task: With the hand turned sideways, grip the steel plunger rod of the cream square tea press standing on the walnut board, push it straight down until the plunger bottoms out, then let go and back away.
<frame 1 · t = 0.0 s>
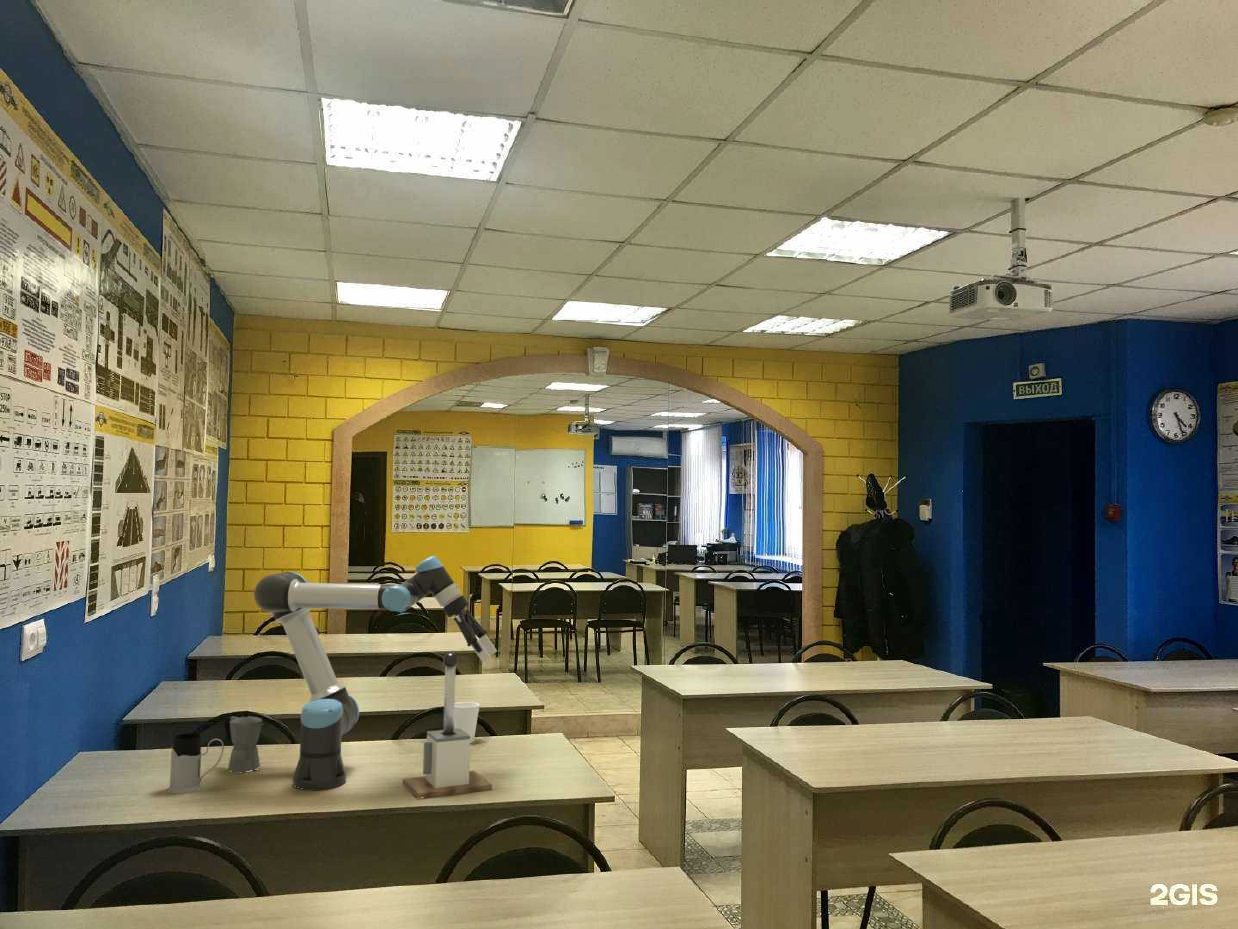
hand: (490, 657, 288), 36 cm above the table, tool tilted 35°, fingers open, 13 cm apart
foam cup: (464, 742, 325), on the table
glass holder: (195, 789, 265), on the table
plunger: (449, 697, 273), point 26 cm above the table, slide at 10.0 cm
board: (446, 786, 272), on the table
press: (444, 758, 271), on the board, point 8 cm above the table
coffeepot: (241, 769, 286), on the table
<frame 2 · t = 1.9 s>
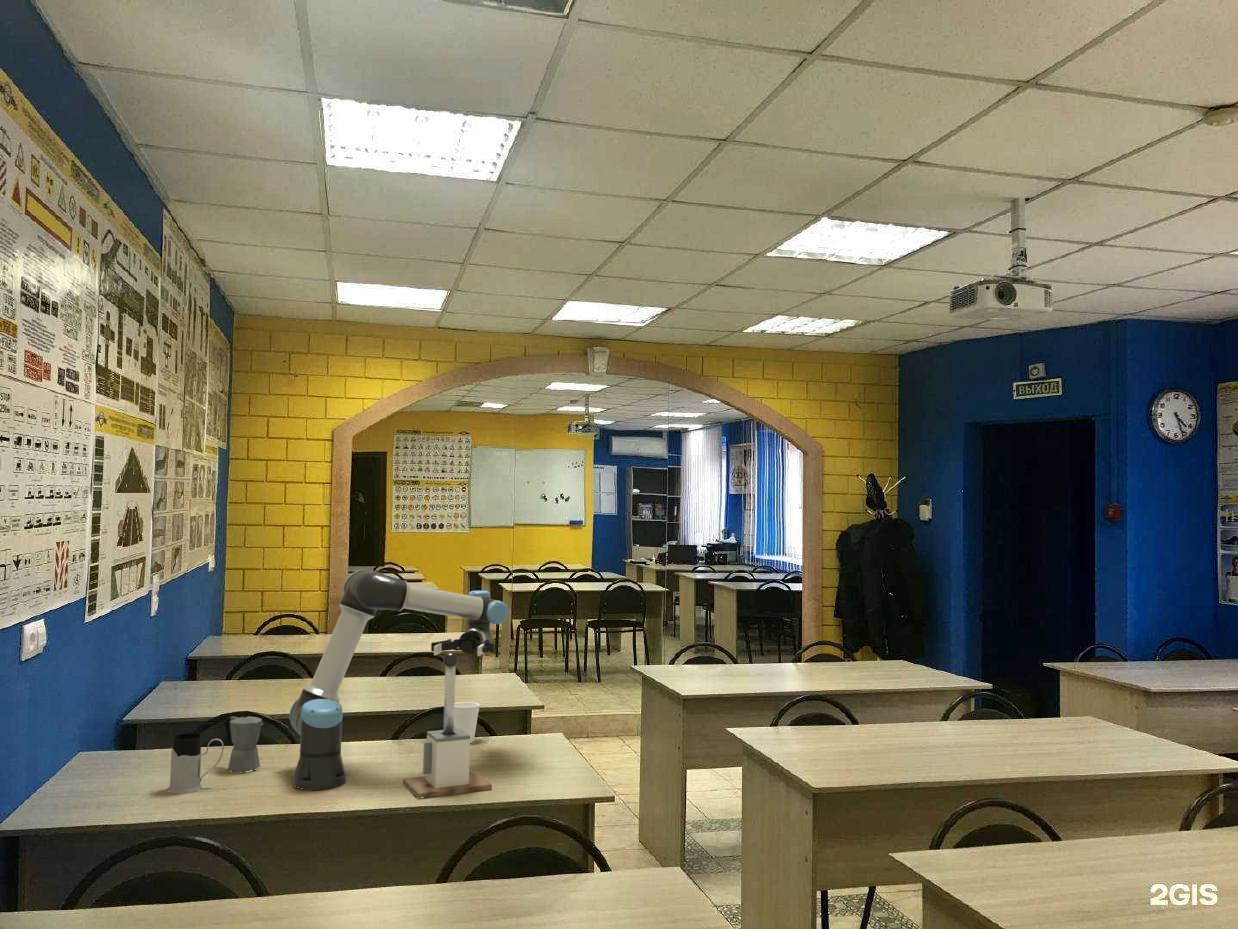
hand: (456, 651, 283), 38 cm above the table, tool horizontal, fingers open, 13 cm apart
nothing on the table moved.
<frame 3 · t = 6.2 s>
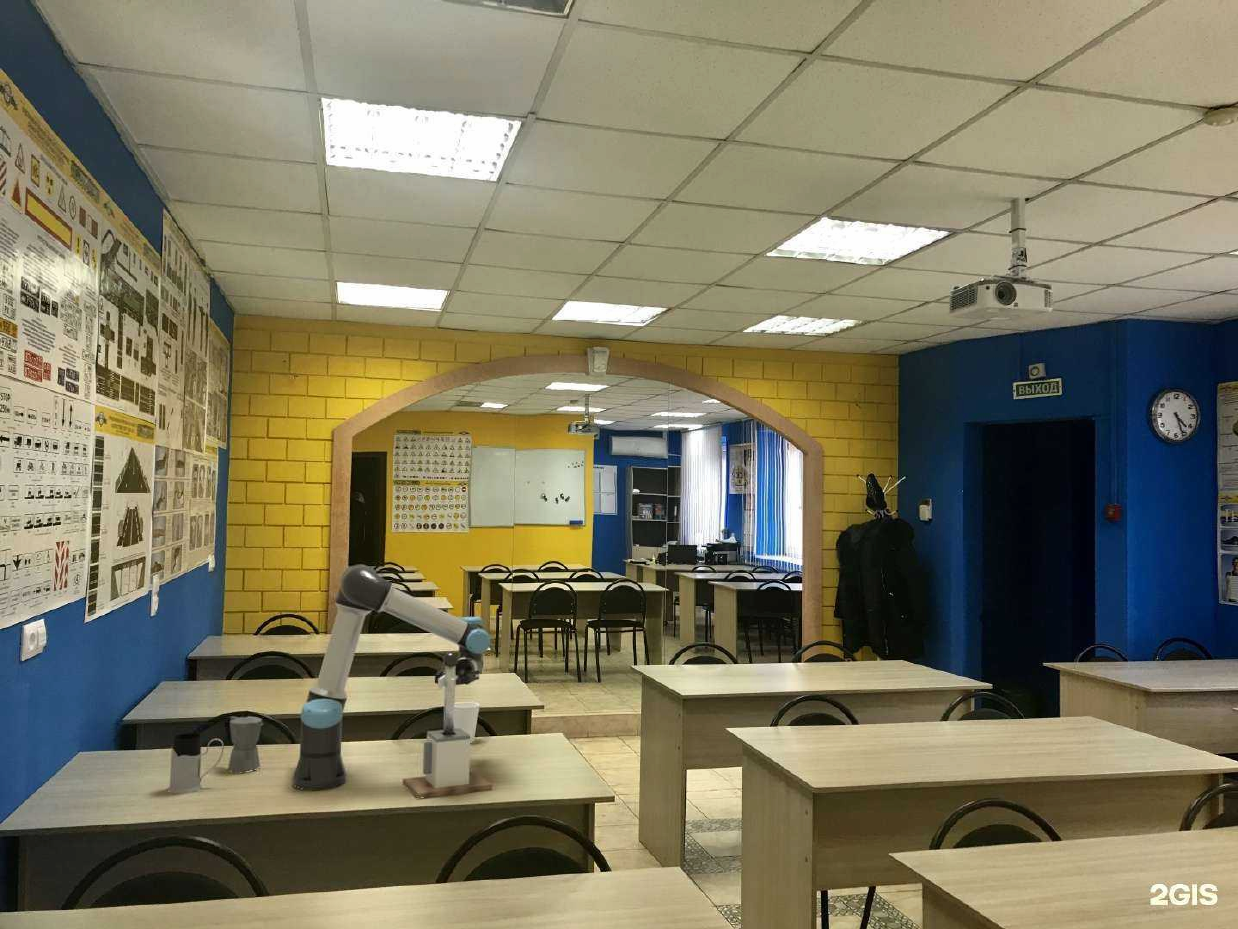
hand: (445, 684, 268), 31 cm above the table, tool horizontal, fingers closed on plunger, 3 cm apart
plunger: (449, 697, 273), point 26 cm above the table, slide at 10.1 cm, touching gripper
everything else where it was.
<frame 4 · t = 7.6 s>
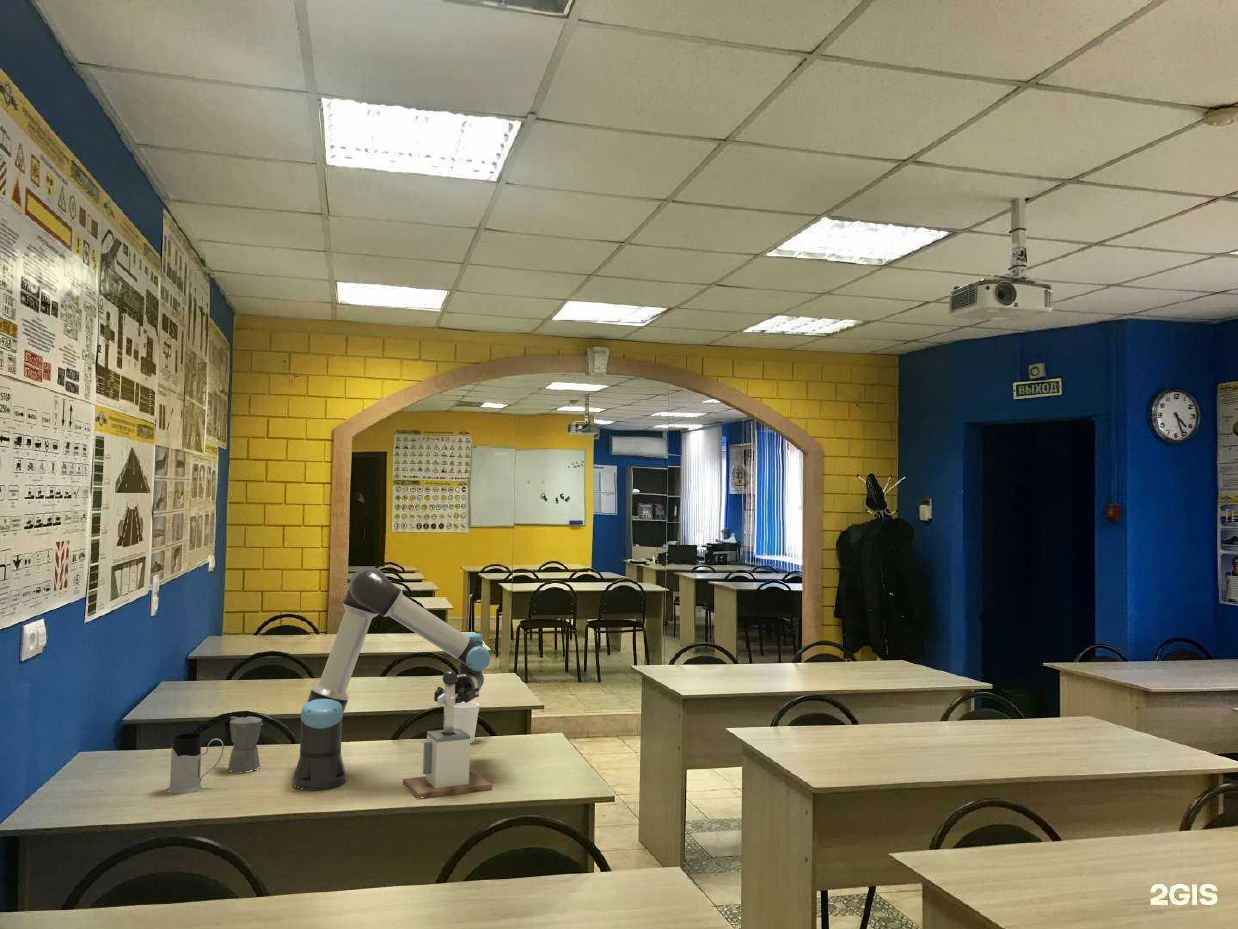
hand: (445, 702, 268), 26 cm above the table, tool horizontal, fingers closed on plunger, 3 cm apart
plunger: (449, 715, 273), point 21 cm above the table, slide at 4.7 cm, touching gripper
everything else where it was.
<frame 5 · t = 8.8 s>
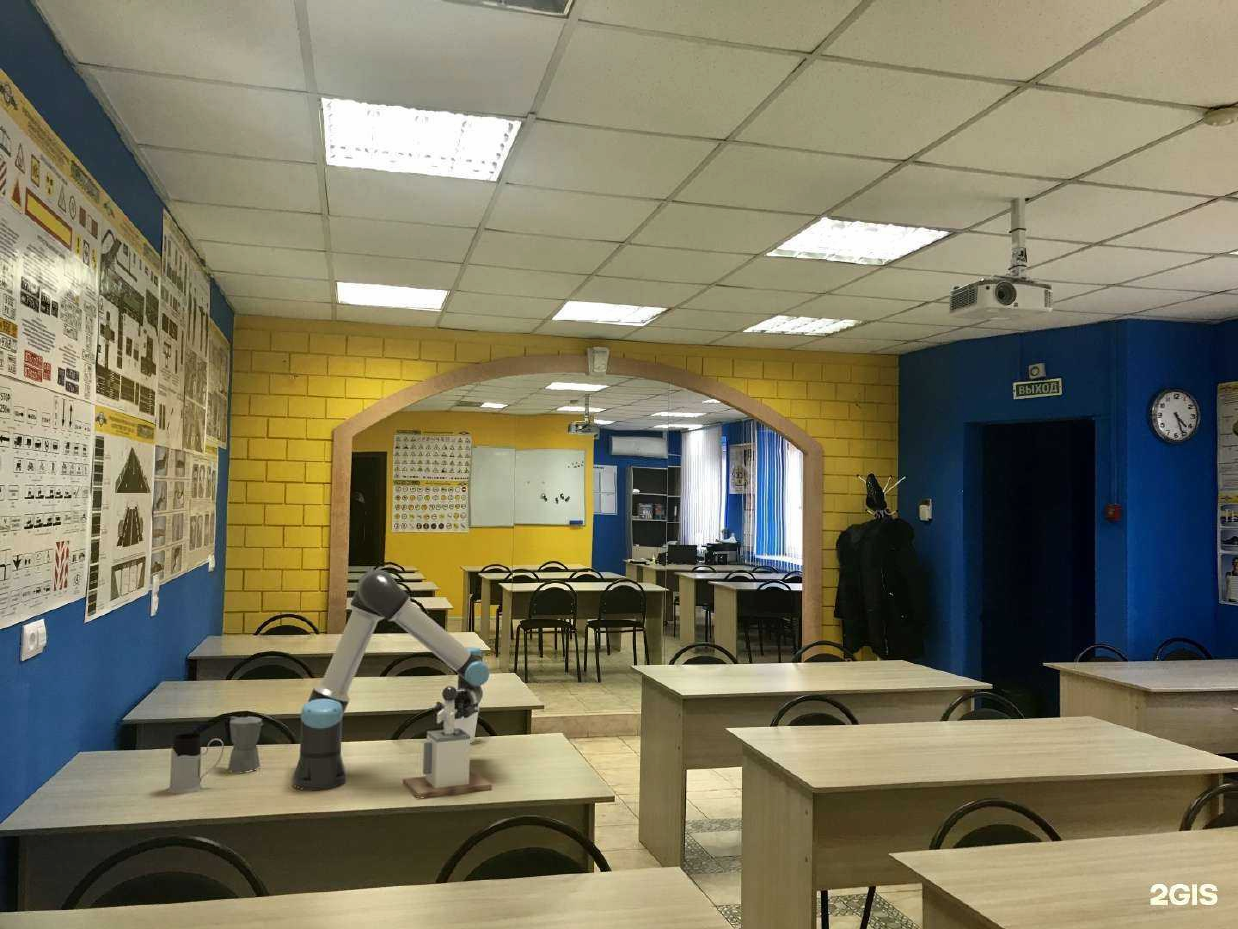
hand: (444, 718, 267), 21 cm above the table, tool horizontal, fingers closed on plunger, 3 cm apart
plunger: (448, 731, 272), point 16 cm above the table, slide at 0.1 cm, touching gripper
everything else where it was.
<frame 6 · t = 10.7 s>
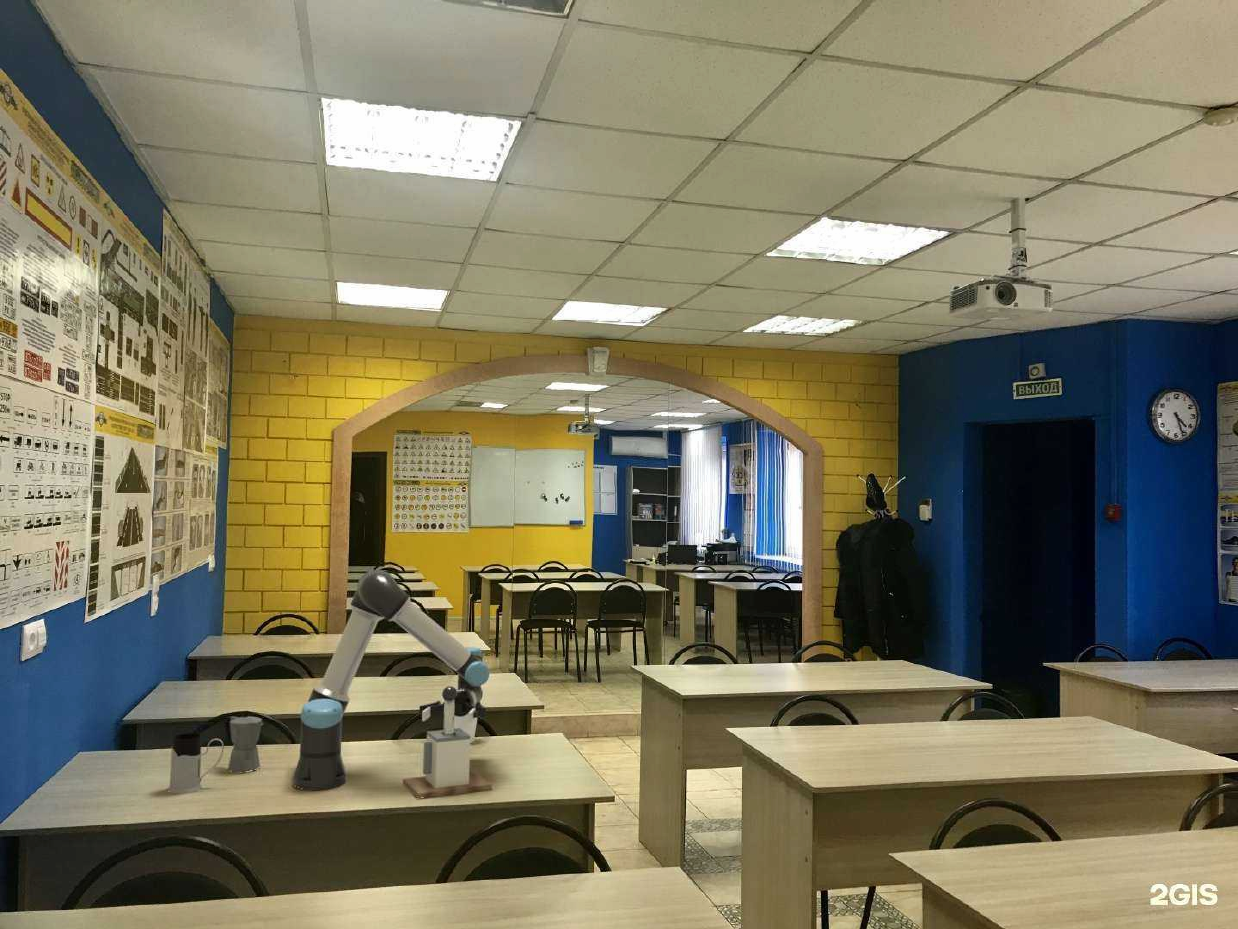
hand: (446, 717, 269), 21 cm above the table, tool horizontal, fingers open, 13 cm apart
plunger: (448, 731, 272), point 16 cm above the table, slide at 0.1 cm
everything else where it was.
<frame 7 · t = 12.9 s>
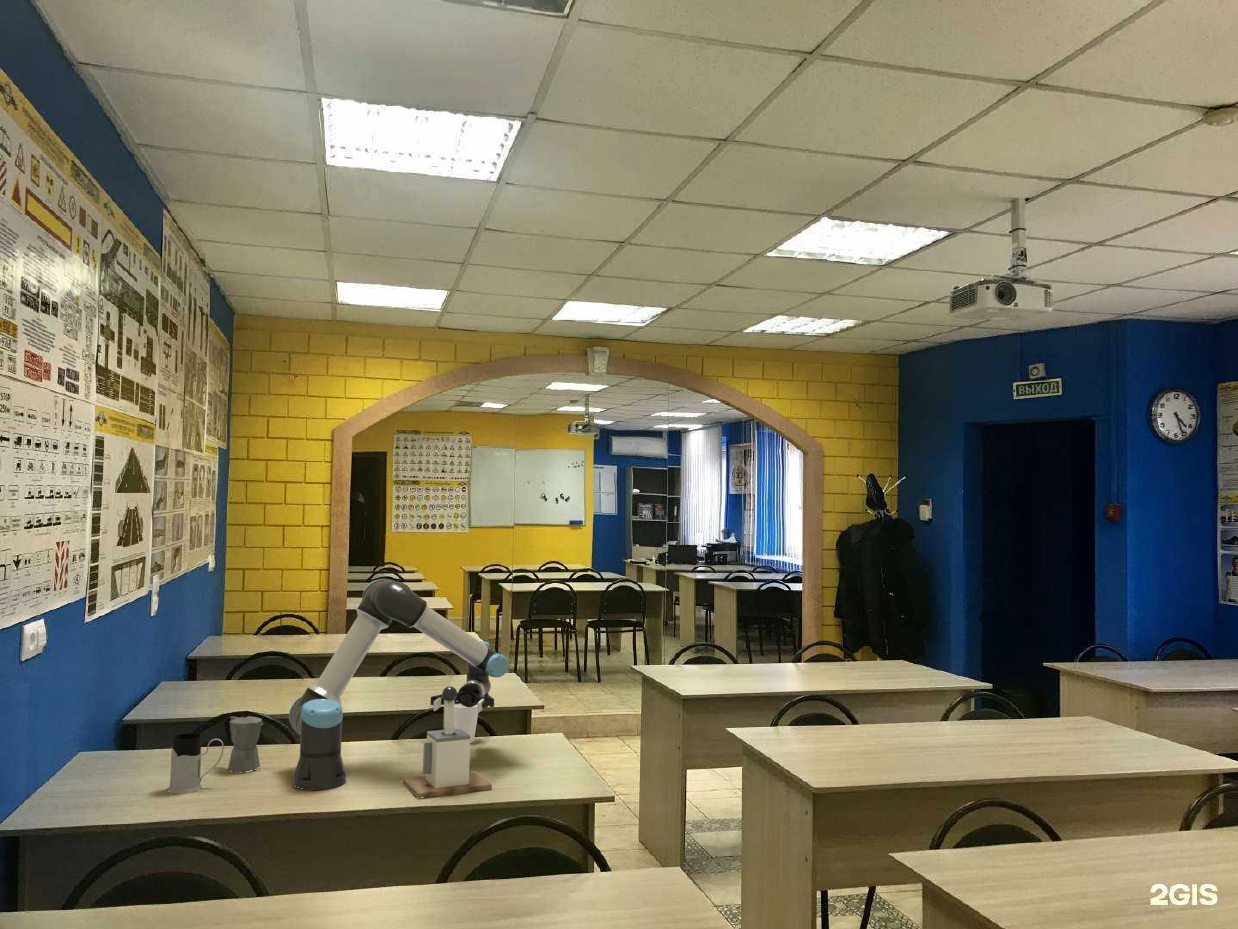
hand: (456, 707, 282), 21 cm above the table, tool horizontal, fingers open, 13 cm apart
nothing on the table moved.
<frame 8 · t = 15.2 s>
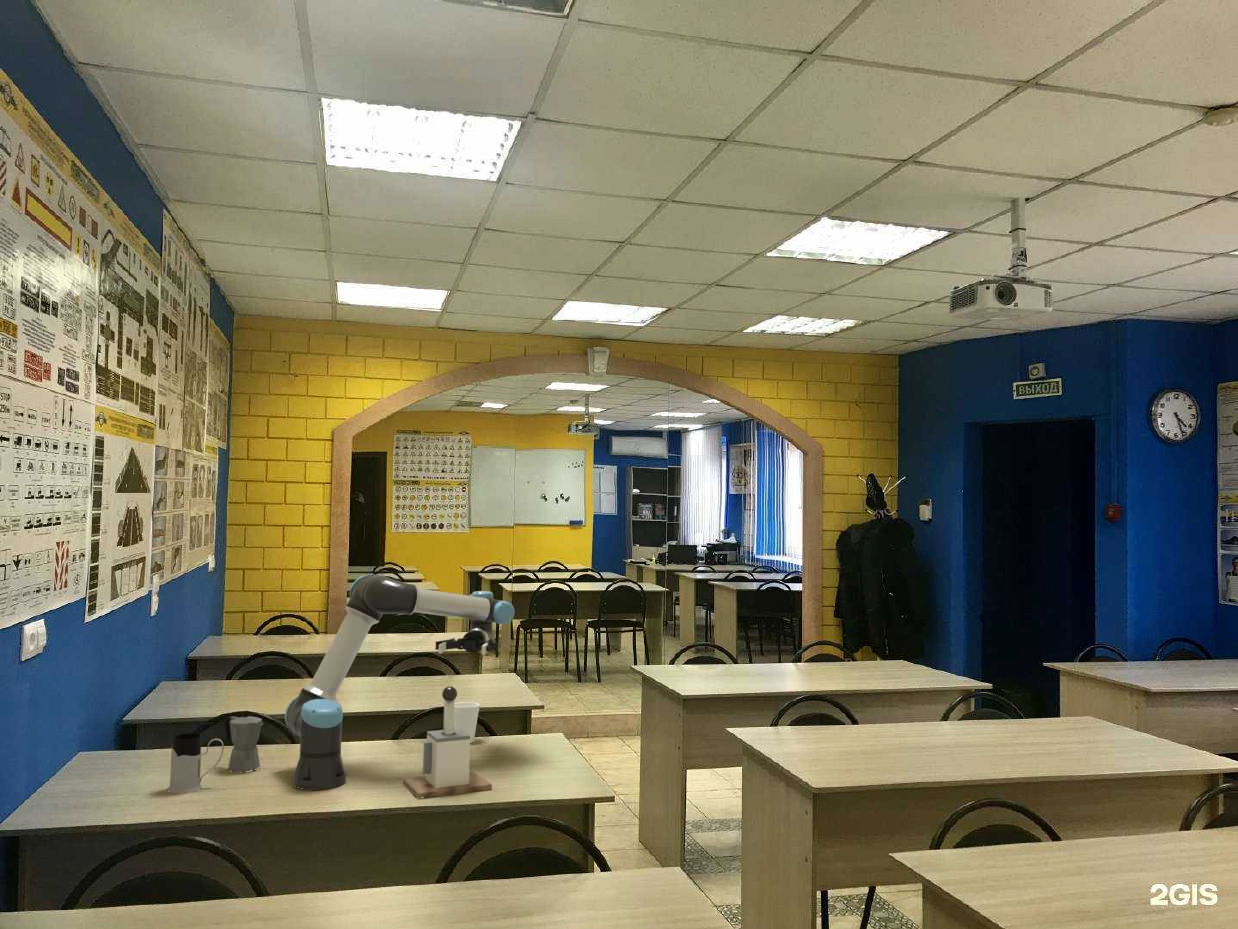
hand: (461, 649, 288), 38 cm above the table, tool horizontal, fingers open, 13 cm apart
nothing on the table moved.
at the end: plunger slide at 0.1 cm; the gripper is holding nothing; foam cup moved 0.2 cm from its start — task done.
